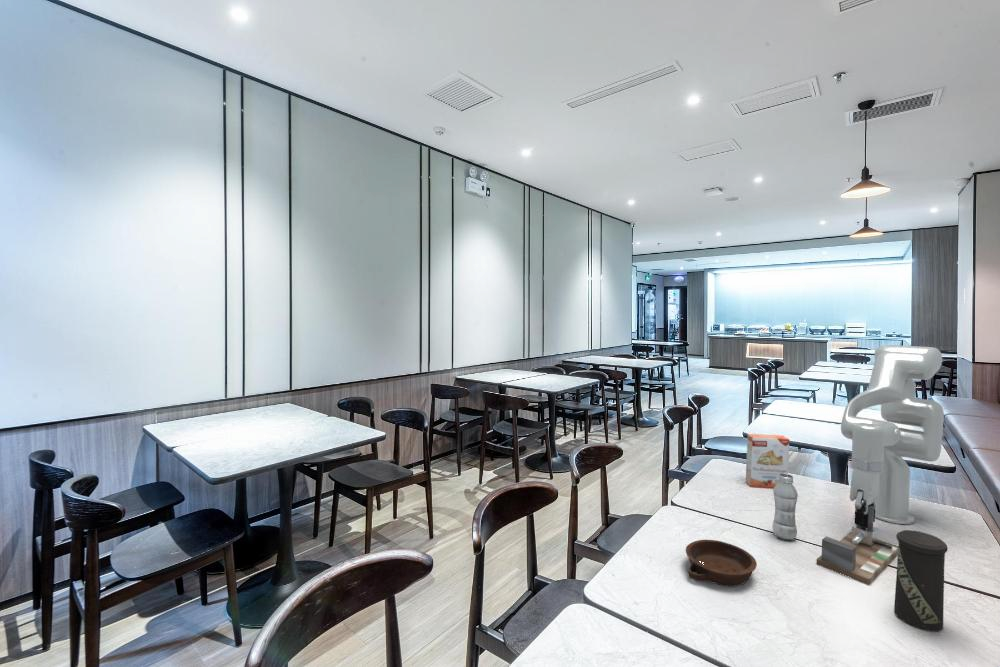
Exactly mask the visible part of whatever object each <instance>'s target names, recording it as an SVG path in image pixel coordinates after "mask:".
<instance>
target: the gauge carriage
mask: <svg viewBox="0 0 1000 667" xmlns="http://www.w3.org/2000/svg"><path fill="white" fill-rule="evenodd" d="M862 503H864V502H863V501H862ZM862 507H864V509H865V505H862ZM867 514H868V515H869V518H868V527H867V528H866V527H862V526H859V525H856V524H855V523H854V524H852V526H851V529H850V532H851V539H852V542H853V543H854V544H858V543H859V542H861V543H864V544H867V545H870V546H872V545H873V544H877V545H880V546H883V547H886V548H889V549H892V546H890V545H886V544H883V543H880V542H877V539H878V527H875V526H874V522H873V518H874V506H873V505H871V504H870V505H868V512H867Z"/></svg>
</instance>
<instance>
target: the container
mask: <svg viewBox="0 0 1000 667" xmlns="http://www.w3.org/2000/svg"><path fill="white" fill-rule="evenodd" d="M895 536H896V540H897V541H898V542H897V543H898V544H897V546H898V555H897V559H896V560H897V562H896V563H897V564H896V565H897V566H896V575H895V576H896V578H895V591H894V592H895V593H894V602H893V604H894V606H893V609H894V610H893V611H894V614H895V616H896V617H897V618H899V619H900V621H902V622H904V623H906V624H907V625H908V624H909V625H910V626H911V627H915V628H918V629H921V630H924V631H929V632H930V631H931V632H938V631H941V630H942V629H944V600H945V599H944V595H945V594H944V593H945V562H946V561H945V558H946V555H945V554H946V553H947V552H948V548H949V547H948V545H947V544H946V543H945V542H944V541H943V540H942V539H941V538H939V537H937V536H935V535H932V534H929V533H927V532H922V531H918V530H913V529H911V530H909V529H905V530H901V531H899V532H897V533H896V535H895Z"/></svg>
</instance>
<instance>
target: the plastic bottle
mask: <svg viewBox="0 0 1000 667" xmlns="http://www.w3.org/2000/svg"><path fill="white" fill-rule="evenodd" d="M779 481H780V482H779V483H778V484H777V485H776V486H775V487H774V488H772V490H773V498H774V517H773V518H774V519H773V522H772V525H771V527H772V532H773V534H774V535H775V537H777V538H779V539H782V540H786V541H792V540H795V538H797V535H798V530H797V529H798V528H797V524H796V523H797V522H796V507H797V503H798V502H797V501H798V496H799V494H798V491H797V489H796V487H795V485H794V484H793V483H794V476H793V475H791V474H779Z"/></svg>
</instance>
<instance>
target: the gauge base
mask: <svg viewBox="0 0 1000 667" xmlns="http://www.w3.org/2000/svg"><path fill="white" fill-rule="evenodd" d="M877 542H880V543H883V544H886V545H890V546H892V549H889V548H886V547H883V546H880V545H877V544H873V545H872V546H870V545H867V544H864V543H861V542H859V543H858V544H854V543H853V542H852V539H851V531H850V532H849V533H847V534H846V535H844V537H842V538H841V539H839V540H838V539H835V538H833V537H829V536H828V535H827V536H824V537H823V538H822V539H821V555H819V556H818V557H817V558H816V560H815V562H816V565H817V564H818V566H820V565H821V566H820V567H822V566H823V568H825V569H828V570H830V571H832V570H833V572H835V571H836V572H835V573H837V572H838V573H837V574H840V573H841V575H842V574H844V575H843V576H845V575H846V576H845V577H847V576H849V577H848V578H850V577H851V578H850V579H852V578H853V580H855V581H857V580H858V582H859V583H863V584H865V585H868V586H870V585H871V584H872V583H873V581H875V580H876V579H877V577H879V576H880V574H882V572H883V571H884V570H885V569H886V568H887V567H888V566H889V565H890V564H891V563H892V562H893V560H894V559H895V558H897V557H898V545H896V544H894V543H893V544H892V543H890V542H887V541H884V540H881V539H878V538H877Z"/></svg>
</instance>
